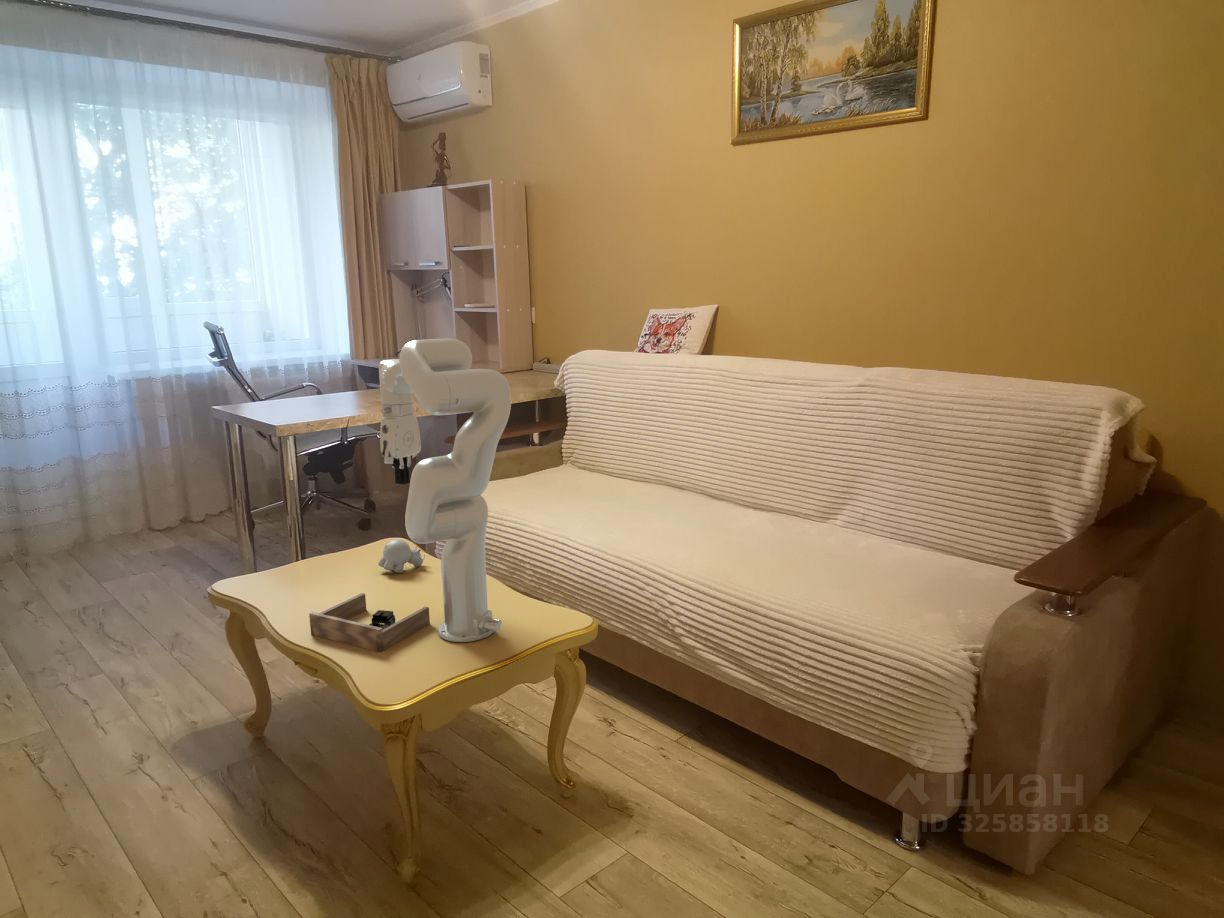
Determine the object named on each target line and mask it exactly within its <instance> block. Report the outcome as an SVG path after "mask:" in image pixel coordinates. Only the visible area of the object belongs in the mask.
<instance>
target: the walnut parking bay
mask: <svg viewBox="0 0 1224 918" xmlns="http://www.w3.org/2000/svg"><path fill="white" fill-rule="evenodd" d="M364 611H367V601H366V593H364V592H361V593H359V594H357V595H355V596H353V597H351V598H349V599H346V600H344V601H342V602H340V603H338V604H335V605H334V606H331V607H329V608H328V609H326V610H323V611H321V612H314V611H312V612H310V613H308V614H309V615H308V617H309V625H310V635H311V636H314V637H319V638H322V639H323V638H324V639H327V640H330V641H331V640H332V641H334V642H338V643H341V644H346V645H349V646H354V647H359V648H363V649H367V650H371V651H376V652H379V653H382V652H383V651H385V650H387V649H388V648H390V647H392V646H394V645H395V644H397V643H399V642H401V641H402V640H405V639H406V638H408V637H409V636H411V635H413V634H415V633H416V632H418V631H419V630H421V629H423V628H425V627H427V626H428V625H429V626H430V624H431V619H430V607H429V606H425V605H424V606H423V607H421V608H420V609H418V610H416V611H414V612H412V613H411V614H409V615H407V616H405V617H404V618H401V619H400V620H397V621H395V623H394V624H392V625H390V626H389V627H387V628H385V629H383V630H382V628H380V627H375V626H371V625H369V624H367V623H362V622H359V621H358V622H357V621H353V620H349V619H351V618H352V617H354V616H356V615H359V614H361V613H363V612H364Z"/></svg>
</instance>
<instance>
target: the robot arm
mask: <svg viewBox="0 0 1224 918" xmlns="http://www.w3.org/2000/svg"><path fill="white" fill-rule="evenodd" d="M472 363H473V354H472V351H471V349H470V347H469V346H468V345H467V344H466V343H465V342H463V341H461V340H460V339H457V338H456V339H455V338H451V337H450V338H449V337H448V338H447V337H446V338H429V339H428V338H426V339H413V340H410V341H408V342H407V343H405V344H404V345H403V346H402V348H401V350H400V352H399V358H391V359H384V360H381V361H380V362H379V363H378V375H379V376H378V377H379V378H378V379H379V390H380V391H379V393H380V404H381V406H380V407H381V409H380V413H381V419H380V420H381V421H380V432H379V444H380V446H379V447H380V453H381V456H382V457H383V463H384V464H386V465H387V464H389V465H391V467H392V468H393V469H394V480H395V484H396V485H397V484H398V485H407V484H409V488H408V494H407V500H406V507H405V515H404V519H405V520H404V521H405V522H404V523H405V530H406V533H407V536H408V537H409V539H410V540H411V541H412V542H414V543H416V544H419V545H425V544H426V545H427V544H433V543H437V542H442V541H446V542H445V544H444V546H443V549H442V552H441V557H440V561H441V562H440V563H441V564H440V565H441V567H440V568H441V581H442V584H441V586H442V598H443V599H442V600H443V616H444V617H443V619H444V621H442V622H441V623H440V624H439V625H438V627H437V633H438V636H439V637H440V638H441V639H444V641H449V642H454V643H455V642H456V643H466V642H468V643H469V642H475V641H480V640H482V639H485V638H488V637H489V636H490V635H491V636H492V634H493V633H497V634H498V633H499V632H500V630H501V625H502V619H498V618H493V610H491V609H489V606H488V590H487V589H488V588H487V586H488V585H487V565H486V564H487V563H486V536H487V534H486V533H487V528H488V527H487V525H488V521H489V509H488V508H489V507H488V503H487V501H486V500H485V498H484V497H483V495H482V494H483V493H485V492H486V490H487V488H488V485H489V484H490V483H489V482H490V478H491V475H492V469H493V466H494V462H495V457H496V451H497V448H498V444H499V441H500V440H501V437H502V434H503V433H504V431H505V429H506V426H507V423H508V422H509V421H508V420H509V418H510V413H511V409H512V408H511V407H512V392H511V386H510V384H509V381H508V379H507V377H506V376H505V375H504V374H502V373H501V372H499V371H497V370H495V369H490V368H489V369H487V368H472V369H471V367H472ZM413 395H414V397H415V398H416V400H417V402H418V403H419V405H420V407H421V408H422V409H423V410H424V411H425V412H426V413H427V414H430V415H431V416H446V415H447V416H448V415H457V414H466V413H467V414H468V413H473V414H472V415H471V416H470V417H469V418H468V419H467V420H466V421H465V422H464V423H463V424H462V426H461V427H460V428H459V430H458V431H457V433H456V435H455V437H454V442H453V448H452V451H451V452H450V453H449V454H446V455H439V456H434V457H433V456H431V457H427V458H423V459H421V460H420V461H418V462H417V463H416V464H415V466H414V467H413V469H412V472H411V477H410V467H411V463H412V460H413V459H414V458H415V457H417V455H418V454H419V453H420V452H421V450H422V441H421V440H422V439H421V433H420V431H421V430H420V426H419V422H418V421H419V420H418V417H417V415H416V413H414V412H415V411H414V397H413Z"/></svg>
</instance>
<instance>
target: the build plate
mask: <svg viewBox="0 0 1224 918" xmlns="http://www.w3.org/2000/svg"><path fill="white" fill-rule="evenodd" d="M371 615H372V618H371V623H369V624H368V625H371V626H375V627H380V628H382V630H383V629H385V628H387V627H389V626H390V625H392V624H394V623H396V615H394V611H393V610H382V609H381V610H380V609H378V610H377V611H376V612H374V613H373V614H371Z"/></svg>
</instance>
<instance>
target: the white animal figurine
mask: <svg viewBox="0 0 1224 918" xmlns="http://www.w3.org/2000/svg"><path fill="white" fill-rule="evenodd" d="M421 550H422V549H421V548H420V549H418V546H415V547H413V548H411V547H410V545H409V543H408V542H406V540H402V539H396V538H395V539H392V540H391V541H388V542H387V543H386V544H385V546H384V547H383V551H382V555H383V556H382V557H381V558H380V559H379V561H378V566H379V567H381V568H383V569H384V570H386V571H391V572H392V571H393V572H395V573H397V574H403V571H404V568H405V567H404V566H405V565H406V564H409V565H410V564H411V565H413V567H416V568H419V567H421V566H422V565H423V562H424V561H425V559H426V556H425V554H424V555H423V556H422V555H421Z"/></svg>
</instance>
